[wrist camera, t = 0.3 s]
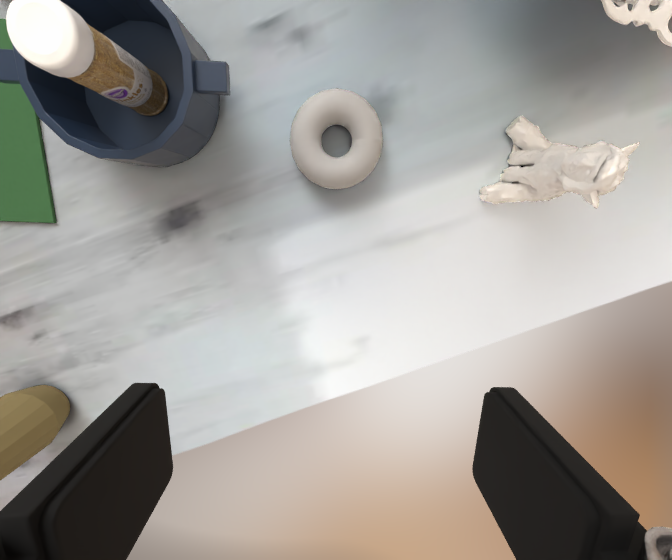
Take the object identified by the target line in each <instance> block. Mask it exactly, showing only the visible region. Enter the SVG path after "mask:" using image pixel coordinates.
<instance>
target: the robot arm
mask: <svg viewBox="0 0 672 560" xmlns="http://www.w3.org/2000/svg"><path fill="white" fill-rule="evenodd" d="M172 472H173V462H172V453H171V444H170V435H169V425H168V416H167V407H166V398H165V391H164V390H163V389H159V386H158V384H156V383H134V384H132V385H131V386H130V387H129V388H128V389H127V390H126V391H125V392H124V393H123V394H122V395H121V396H120V397H119V398H117V399H116V400H115V401H114V402H113V403H112V404H111V405H110V406H109V407H108V408H107V409H106V410H105V411H104V412H103V413H102V414H101V415H100V416H99V417H98V418H97V419H96V420H95V421H94V422H93V423H91V424H90V425H89V426H88V427H87V428H86V429H85V430H84V431H83V432H82V433H81V434H80V435H79V436H78V437H77V438H76V439H75V440H74V441H73V442H72V443H71V444H70V445H69V446H68V447H67V448H66V449H64V450H63V451H62V452H61V453H60V454H59V455H58V456H57V457H56V458H55V459H54V460H53V461H52V462H51V463H50V464H49V465H48V466H47V467H46V468H45V469H44V470H43V471H42V472H41V473H40V474H39V475H37V476H36V477H35V478H34V479H33V480H32V481H31V482H30V483H29V484H28V485H27V486H26V487H25V488H24V489H23V490H22V491H21V492H20V493H19V494H18V495H17V496H16V497H15V498H14V499H13V500H12V501H10V502H9V503H8V504H7V505H6V506H5V507H4V508H3V509H2V510H1V511H0V560H126V559H127V557H128V555H129V554H130V552H131V550H132V548H133V546H134V544H135V543H136V541H137V539H138V537H139V535H140V534H141V532H142V530H143V528H144V526H145V525H146V523H147V521H148V519H149V517H150V516H151V514H152V512H153V510H154V508H155V506H156V505H157V503H158V501H159V499H160V497H161V496H162V494H163V492H164V490H165V488H166V486H167V485H168V483H169V481H170V478H171V476H172ZM473 476H474V479H475V482H476V484H477V485H478V487H479V489H480V491H481V493H482V495H483V497H484V499H485V501H486V502H487V505H488V507H489V508H490V510H491V512H492V514H493V516H494V518H495V520H496V522H497V524H498V526H499V527H500V529H501V531H502V533H503V535H504V537H505V539H506V541H507V543H508V545H509V546H510V548H511V550H512V552H513V554H514V556H515V558H516V560H672V529H671V528H666V527H654V528H651V529H649V530H648V531H647V530H646V529H644V527H643V526H642V525H641V524H640V523H639V522H638V519H639V516H640V515H639V514H638V513H637V512H636V511H635V510H634V509H633V508H632V507H631V505H630V504H629V503H628V502H627V501H626V500H625V499H624V498H623V497H622V496H620V495H619V493H618V492H617V491H616V490H615V489H614V488H613V487H612V486H611V485H610V484H609V483H608V482H607V481H606V480H605V479H604V478H603V477H602V476H601V475H600V474H599V473H598V472H597V471H596V470H595V469H594V468H593V467H592V466H591V465H590V464H589V463H588V462H587V461H586V460H585V459H584V458H583V457H582V456H581V455H580V454H579V453H578V452H577V451H576V450H575V449H574V448H573V447H572V446H571V445H570V444H569V443H568V442H567V441H566V440H565V439H564V438H563V437H562V436H561V435H560V434H559V433H558V432H557V431H556V430H555V429H554V428H553V427H552V426H551V425H550V424H549V423H548V422H547V421H546V420H545V419H544V418H543V417H542V416H541V415H540V414H539V413H538V411H536V409H534V408H533V406H532V405H530V403H529V402H528V401H527V400H526V399H525V398H524V397H523V396H521V395H520V393H519V392H518V391H517V390H516V389H514V388H511V387H510V388H509V387H507V388H506V387H493V388H491V390H490V392H487V393H486V394H485V396H484V400H483V406H482V412H481V419H480V425H479V431H478V437H477V443H476V449H475V455H474V461H473Z"/></svg>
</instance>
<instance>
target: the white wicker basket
mask: <svg viewBox="0 0 672 560" xmlns="http://www.w3.org/2000/svg"><path fill="white" fill-rule="evenodd" d="M601 1H602V4H603V7H604V10H605V12H606V14H607V15H608V16H609V17H610V18H611V19H612V20H614V21H616V22H618V23H620V24H623V25H627V24H629V23H630V22H631V21H633V23H634V25H635V26H636V27H638V26H641V25H643V24H647V25H648V27H649V30H651V31H657V35H658V38H659V39H660V40H661V42H662V43H664V44H665V45H668V46H672V33H671V32H670V31H669V29H668V21H669V19H670V17H671V16H672V0H601ZM613 2H614V3H616V4H617V5H618V6H621V7H616V6H615V5H614V4H613ZM628 4H632V5H633V7H632V10H631V11H629V10H628V8H627V5H628ZM658 4H659V7H658V9H657V10H655V11H650V9H649V6H650V5H653V6H656V5H658Z"/></svg>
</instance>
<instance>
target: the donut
mask: <svg viewBox="0 0 672 560" xmlns="http://www.w3.org/2000/svg"><path fill="white" fill-rule="evenodd" d="M336 124H337V125H342V126H344V127H345V128H347V129H348V131H349V132H350V134H351V136H352V145H351V148H350V150H349V152H348V153H347V154H346V155H344V156H342V157H337V158H336V157H331V156H329V155H328V154H327V153H326V152H325V151H324V150H323V147H322V144H321V138H322V134H323V132H324V131H325V129H326V128H327V127H329V126H331V125H336ZM290 145H291V151H292V156H293V158H294V160H295V162H296V164H297V166H298V168H299V170H300V171H301V172H302V173H303V174H304V175H305V176H306V177H307V178H308V179H309V180H310V181H312V182H314V183H315V184H317V185H319V186H321V187H324V188H330V189H336V190H337V189H343V188H349V187H352V186H354V185H356V184H358V183H360V182H362V181H363V180H364V179H365V178H366V177H367V176H368V175H369V174H370V173H371V172H372V171H373V170H374V168H375V166H376V164H377V162H378V160H379V158H380V156H381V150H382V145H383V134H382V125H381V123H380V121H379V118H378V116H377V114H376V111H375V110H374V109H373V107H372V106H371V105H370V104H369V103H368V102H367V101H366V99H364V98H363V97H361V96H359V95H358V94H356V93H354V92H352V91H348V90H343V89H338V88H336V89H330V90H324V91H321V92H319V93H317V94H315V95H314V96H312V97H310V98H308V100H307V101H306V102H305V103H304V104H303V105H302V106H301V107H300V108H299V110H298V112H297V114H296V116H295V118H294V120H293V123H292V126H291V134H290Z"/></svg>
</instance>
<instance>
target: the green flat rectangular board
mask: <svg viewBox="0 0 672 560" xmlns="http://www.w3.org/2000/svg"><path fill="white" fill-rule="evenodd" d="M0 49H13V46H12V42H11V39H10V37H9V34H8V31H7V25H6V19H0ZM0 221H13V222H40V223H56V217H55V211H54V205H53V199H52V193H51V187H50V181H49V175H48V170H47V164H46V158H45V152H44V146H43V140H42V134H41V128H40V122H39V117H38V116H37V114H36V112H35V110H34V108H33V107H32V105H31V103H30V101H29V99H28V97H27V96H26V94H25V92H24V90H23V88H22V87H21V85H20V84H8V83H2V82H0Z"/></svg>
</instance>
